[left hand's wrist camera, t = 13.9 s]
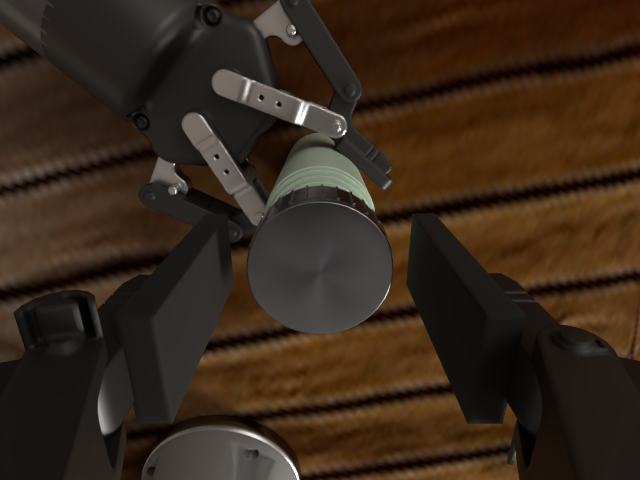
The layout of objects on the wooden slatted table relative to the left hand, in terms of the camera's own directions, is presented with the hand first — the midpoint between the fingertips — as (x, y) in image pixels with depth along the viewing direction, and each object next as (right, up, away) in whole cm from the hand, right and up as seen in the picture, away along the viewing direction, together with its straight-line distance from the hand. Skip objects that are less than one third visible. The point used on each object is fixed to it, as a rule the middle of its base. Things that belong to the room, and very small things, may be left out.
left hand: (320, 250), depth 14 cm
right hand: (+2, +2, +9) cm, 10 cm away
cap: (0, -1, -1) cm, 2 cm away
